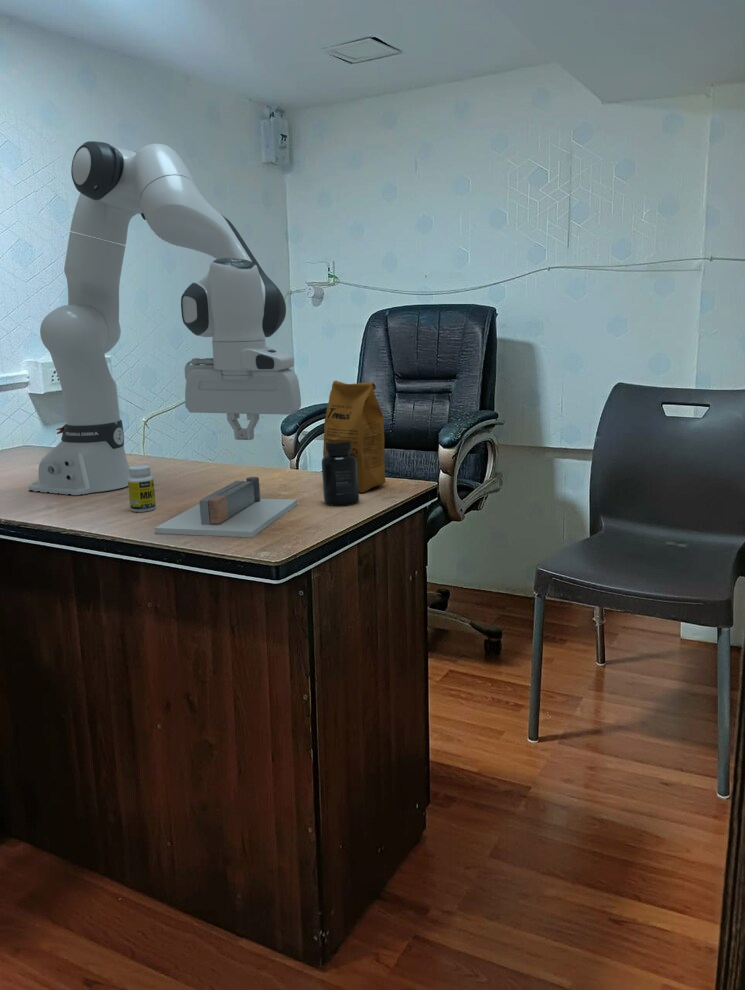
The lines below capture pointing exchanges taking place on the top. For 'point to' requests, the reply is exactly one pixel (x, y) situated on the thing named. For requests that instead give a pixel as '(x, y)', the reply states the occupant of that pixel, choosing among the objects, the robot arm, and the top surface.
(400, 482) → the top surface
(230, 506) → the tongs jaw
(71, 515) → the top surface
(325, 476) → the supplement bottle
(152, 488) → the supplement bottle
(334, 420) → the coffee package
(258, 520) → the board
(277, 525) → the top surface
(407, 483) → the top surface
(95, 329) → the robot arm
